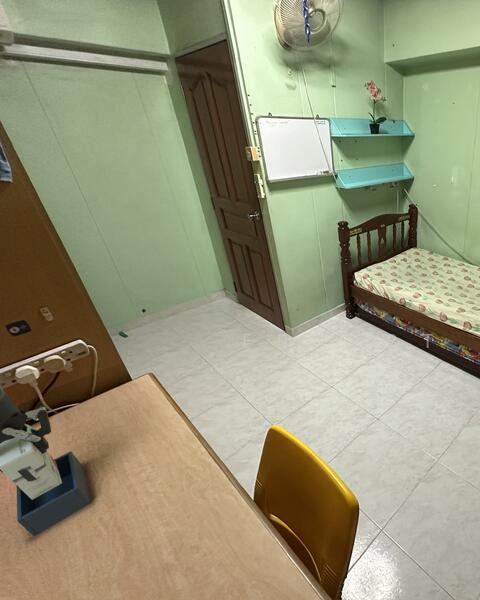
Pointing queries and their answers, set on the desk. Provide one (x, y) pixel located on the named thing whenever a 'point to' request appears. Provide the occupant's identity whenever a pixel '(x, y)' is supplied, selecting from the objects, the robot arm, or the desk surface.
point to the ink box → (28, 467)
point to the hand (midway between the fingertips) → (25, 459)
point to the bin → (55, 498)
